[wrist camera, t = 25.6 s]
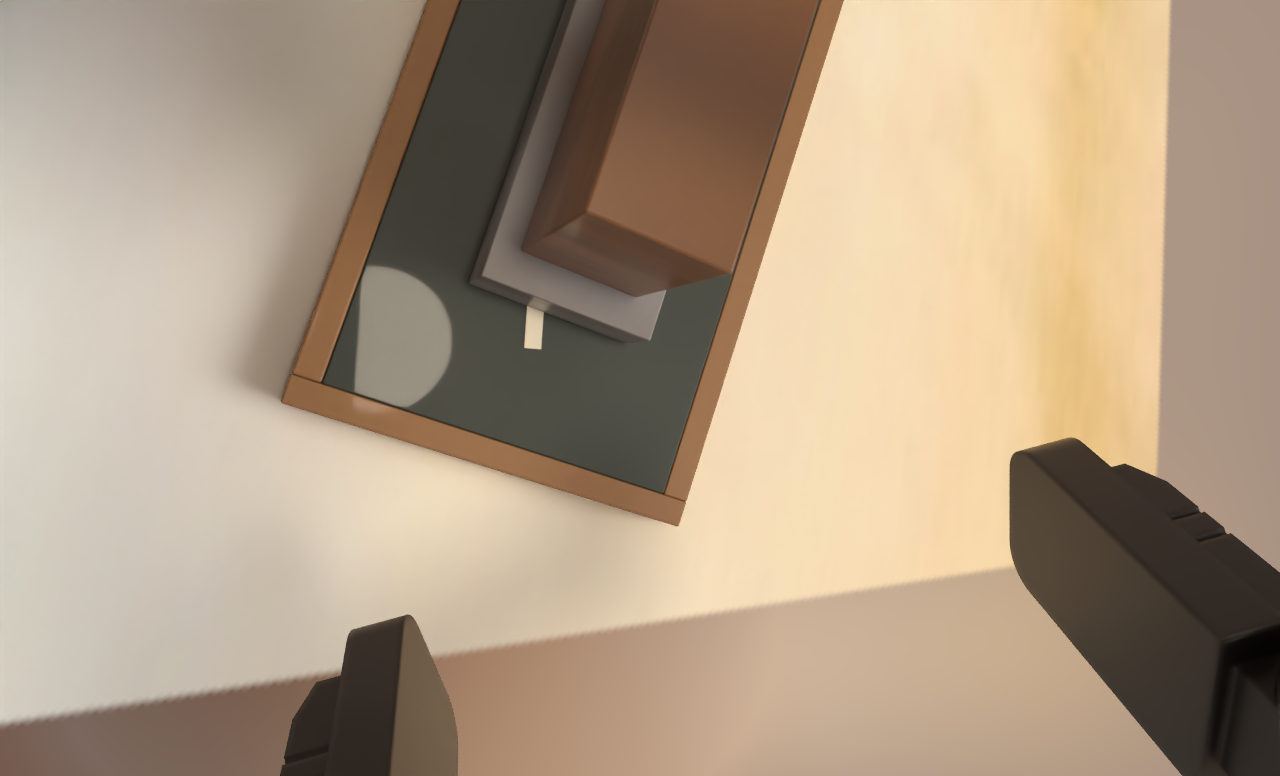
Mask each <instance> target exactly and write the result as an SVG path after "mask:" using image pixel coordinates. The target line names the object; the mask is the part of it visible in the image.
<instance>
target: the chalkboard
mask: <svg viewBox="0 0 1280 776" xmlns="http://www.w3.org/2000/svg"><path fill="white" fill-rule="evenodd" d="M566 1H567V0H428V2H427V5H426V7H425V10H424V13H423V15H422V18H421V21H420V24H419V26H418V29H417V32H416V35H415V37H414V40H413V43H412V45H411V48H410V51H409V54H408V56H407V59H406V62H405V65H404V67H403V70H402V73H401V75H400V78H399V81H398V84H397V86H396V89H395V92H394V95H393V97H392V100H391V103H390V105H389V108H388V111H387V114H386V116H385V119H384V122H383V124H382V127H381V130H380V133H379V135H378V138H377V141H376V144H375V146H374V149H373V152H372V154H371V157H370V160H369V163H368V165H367V168H366V171H365V174H364V176H363V179H362V182H361V184H360V187H359V190H358V193H357V195H356V198H355V201H354V204H353V206H352V209H351V212H350V214H349V217H348V220H347V223H346V225H345V228H344V231H343V234H342V236H341V239H340V242H339V244H338V247H337V250H336V253H335V255H334V258H333V261H332V263H331V266H330V269H329V272H328V274H327V277H326V280H325V283H324V285H323V288H322V291H321V293H320V296H319V299H318V302H317V304H316V307H315V310H314V313H313V315H312V318H311V321H310V323H309V326H308V329H307V332H306V334H305V337H304V340H303V343H302V345H301V348H300V351H299V353H298V356H297V359H296V362H295V364H294V367H293V370H292V373H293V374H291V375H290V378H289V381H288V383H287V386H286V389H285V392H284V394H283V397H282V400H281V402H282V403H284V404H287V405H290V406H294V407H297V408H300V409H303V410H306V411H310V412H313V413H316V414H319V415H322V416H326V417H329V418H332V419H335V420H338V421H342V422H345V423H348V424H351V425H354V426H358V427H361V428H364V429H367V430H370V431H374V432H377V433H380V434H383V435H386V436H390V437H393V438H396V439H399V440H402V441H406V442H409V443H412V444H415V445H418V446H422V447H425V448H428V449H431V450H434V451H438V452H441V453H444V454H447V455H450V456H454V457H457V458H460V459H463V460H466V461H470V462H473V463H476V464H479V465H482V466H486V467H489V468H492V469H495V470H498V471H502V472H505V473H508V474H511V475H514V476H518V477H521V478H524V479H527V480H530V481H534V482H537V483H540V484H543V485H546V486H550V487H553V488H556V489H559V490H562V491H566V492H569V493H572V494H575V495H578V496H582V497H585V498H588V499H591V500H594V501H598V502H601V503H604V504H607V505H610V506H614V507H617V508H620V509H623V510H626V511H630V512H633V513H636V514H639V515H642V516H646V517H649V518H652V519H655V520H658V521H662V522H665V523H668V524H671V525H674V526H679V523H680V520H681V516H682V513H683V510H684V507H685V504H686V502H685V501H686V500H687V497H688V494H689V491H690V488H691V484H692V481H693V478H694V475H695V472H696V468H697V465H698V462H699V459H700V456H701V453H702V449H703V446H704V443H705V440H706V437H707V434H708V430H709V427H710V424H711V421H712V418H713V414H714V411H715V408H716V405H717V402H718V399H719V395H720V392H721V389H722V386H723V383H724V379H725V376H726V373H727V370H728V367H729V364H730V360H731V357H732V354H733V351H734V348H735V344H736V341H737V338H738V335H739V332H740V329H741V325H742V322H743V319H744V316H745V313H746V310H747V306H748V303H749V300H750V297H751V294H752V290H753V287H754V284H755V281H756V278H757V275H758V271H759V268H760V265H761V262H762V259H763V255H764V252H765V249H766V246H767V243H768V240H769V236H770V233H771V230H772V227H773V224H774V221H775V217H776V214H777V211H778V208H779V205H780V201H781V198H782V195H783V192H784V189H785V186H786V182H787V179H788V176H789V173H790V170H791V166H792V163H793V160H794V157H795V154H796V151H797V147H798V144H799V141H800V138H801V135H802V131H803V128H804V125H805V122H806V119H807V116H808V112H809V109H810V106H811V103H812V100H813V97H814V93H815V90H816V87H817V84H818V81H819V77H820V74H821V71H822V68H823V65H824V62H825V58H826V55H827V52H828V49H829V46H830V42H831V39H832V36H833V33H834V30H835V27H836V23H837V20H838V17H839V14H840V11H841V7H842V4H843V1H844V0H819V1H818V4H817V7H816V10H815V13H814V16H813V20H812V23H811V26H810V29H809V32H808V35H807V38H806V42H805V45H804V48H803V51H802V54H801V57H800V61H799V64H798V67H797V70H796V73H795V76H794V80H793V83H792V86H791V89H790V92H789V95H788V98H787V102H786V105H785V108H784V111H783V114H782V117H781V121H780V124H779V127H778V130H777V133H776V136H775V139H774V143H773V146H772V149H771V152H770V155H769V158H768V162H767V165H766V168H765V171H764V174H763V177H762V180H761V184H760V187H759V190H758V193H757V196H756V199H755V203H754V206H753V209H752V212H751V215H750V218H749V222H748V225H747V228H746V231H745V234H744V237H743V240H742V244H741V247H740V250H739V253H738V256H737V259H736V263H735V266H734V269H733V272H732V273H731V274H728V275H724V276H720V277H716V278H712V279H708V280H704V281H700V282H696V283H692V284H688V285H684V286H680V287H676V288H671V289H667V290H666V293H665V296H664V299H663V302H662V305H661V309H660V312H659V315H658V318H657V321H656V324H655V327H654V330H653V333H652V336H651V339H650V341H643V342H634V343H624V342H621V341H618V340H616V339H613V338H611V337H608V336H605V335H603V334H600V333H597V332H595V331H592V330H589V329H587V328H584V327H582V326H579V325H576V324H574V323H571V322H568V321H566V320H563V319H561V318H558V317H555V316H553V315H550V314H547V313H545V312H542V311H539V310H537V309H534V308H532V307H529V306H526V305H524V304H521V303H518V302H516V301H513V300H510V299H508V298H505V297H503V296H500V295H497V294H495V293H492V292H489V291H487V290H484V289H481V288H479V287H476V286H474V285H471V284H469V280H470V277H471V274H472V271H473V268H474V265H475V263H476V260H477V257H478V254H479V251H480V248H481V245H482V242H483V240H484V237H485V234H486V231H487V228H488V225H489V222H490V220H491V217H492V214H493V211H494V208H495V205H496V202H497V199H498V197H499V194H500V191H501V188H502V185H503V182H504V179H505V176H506V174H507V171H508V168H509V165H510V162H511V159H512V156H513V154H514V151H515V148H516V145H517V142H518V139H519V136H520V133H521V131H522V128H523V125H524V122H525V119H526V116H527V113H528V110H529V108H530V105H531V102H532V99H533V96H534V93H535V90H536V88H537V85H538V82H539V79H540V76H541V73H542V70H543V67H544V65H545V62H546V59H547V56H548V53H549V50H550V47H551V45H552V42H553V39H554V36H555V33H556V30H557V27H558V24H559V22H560V19H561V16H562V13H563V10H564V7H565V4H566ZM320 382H322V384H321V383H320Z"/></svg>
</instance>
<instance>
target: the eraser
mask: <svg viewBox="0 0 1280 776" xmlns="http://www.w3.org/2000/svg"><path fill="white" fill-rule="evenodd" d="M818 1H819V0H567V1H566V4H565V7H564V10H563V13H562V16H561V19H560V22H559V24H558V27H557V30H556V33H555V36H554V39H553V42H552V45H551V47H550V50H549V53H548V56H547V59H546V62H545V65H544V67H543V70H542V73H541V76H540V79H539V82H538V85H537V88H536V90H535V93H534V96H533V99H532V102H531V105H530V108H529V110H528V113H527V116H526V119H525V122H524V125H523V128H522V131H521V133H520V136H519V139H518V142H517V145H516V148H515V151H514V154H513V156H512V159H511V162H510V165H509V168H508V171H507V174H506V176H505V179H504V182H503V185H502V188H501V191H500V194H499V197H498V199H497V202H496V205H495V208H494V211H493V214H492V217H491V220H490V222H489V225H488V228H487V231H486V234H485V237H484V240H483V242H482V245H481V248H480V251H479V254H478V257H477V260H476V263H475V265H474V268H473V271H472V274H471V277H470V280H469V284H471V285H474V286H476V287H479V288H481V289H484V290H487V291H489V292H492V293H495V294H497V295H500V296H503V297H505V298H508V299H510V300H513V301H516V302H518V303H521V304H524V305H526V306H529V307H532V308H534V309H537V310H539V311H542V312H545V313H547V314H550V315H553V316H555V317H558V318H561V319H563V320H566V321H568V322H571V323H574V324H576V325H579V326H582V327H584V328H587V329H589V330H592V331H595V332H597V333H600V334H603V335H605V336H608V337H611V338H613V339H616V340H618V341H621V342H624V343H634V342H643V341H650V339H651V336H652V333H653V330H654V327H655V324H656V321H657V318H658V315H659V312H660V309H661V305H662V302H663V299H664V296H665V293H666V290H667V289H671V288H676V287H680V286H684V285H688V284H692V283H696V282H700V281H704V280H708V279H712V278H716V277H720V276H724V275H728V274H731V273H732V272H733V269H734V266H735V263H736V259H737V256H738V253H739V250H740V247H741V244H742V240H743V237H744V234H745V231H746V228H747V225H748V222H749V218H750V215H751V212H752V209H753V206H754V203H755V199H756V196H757V193H758V190H759V187H760V184H761V180H762V177H763V174H764V171H765V168H766V165H767V162H768V158H769V155H770V152H771V149H772V146H773V143H774V139H775V136H776V133H777V130H778V127H779V124H780V121H781V117H782V114H783V111H784V108H785V105H786V102H787V98H788V95H789V92H790V89H791V86H792V83H793V80H794V76H795V73H796V70H797V67H798V64H799V61H800V57H801V54H802V51H803V48H804V45H805V42H806V38H807V35H808V32H809V29H810V26H811V23H812V20H813V16H814V13H815V10H816V7H817V4H818Z"/></svg>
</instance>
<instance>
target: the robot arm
mask: <svg viewBox="0 0 1280 776" xmlns="http://www.w3.org/2000/svg"><path fill="white" fill-rule="evenodd" d="M1010 549H1011V554H1012V558H1013V561H1014V564H1015V567H1016V570H1017V572H1018V574H1019V576H1020V578H1021V580H1022V582H1023V583H1024V585H1025V586H1026V588H1027V589H1028V590H1029V592H1030V593H1031V594H1032V595H1033V597H1034V598H1035V599H1036V600H1037V601H1038V603H1039V604H1040V605H1041V606H1042V607H1043V609H1044V610H1045V611H1046V612H1047V613H1048V615H1049V616H1050V617H1051V618H1052V619H1053V621H1054V622H1055V623H1056V624H1057V625H1058V627H1060V629H1061V630H1062V631H1063V633H1064V634H1065V635H1066V636H1067V637H1068V639H1069V640H1070V641H1071V642H1072V644H1073V645H1074V646H1075V647H1076V648H1077V649H1078V651H1079V652H1080V653H1081V654H1082V656H1083V657H1084V658H1085V659H1086V660H1087V661H1088V663H1089V664H1090V665H1091V666H1092V668H1093V669H1094V670H1095V671H1096V672H1097V674H1098V675H1099V676H1100V677H1101V678H1102V680H1103V681H1104V682H1105V683H1106V684H1107V686H1108V687H1109V688H1110V689H1111V690H1112V692H1113V693H1114V694H1115V695H1116V696H1117V698H1118V699H1119V700H1120V701H1121V702H1122V704H1123V705H1124V706H1125V707H1126V709H1127V710H1128V711H1129V712H1130V713H1131V715H1132V716H1133V717H1134V718H1135V719H1136V721H1137V722H1138V723H1139V724H1140V725H1141V727H1142V728H1143V729H1144V730H1145V731H1146V733H1147V734H1148V735H1149V736H1150V737H1151V738H1152V740H1153V741H1154V742H1155V743H1156V745H1157V746H1158V747H1159V748H1160V749H1161V751H1162V752H1163V753H1164V754H1165V755H1166V757H1167V758H1168V759H1169V760H1170V761H1171V763H1172V764H1173V765H1174V766H1175V767H1176V769H1177V770H1178V771H1179V772H1180V774H1181V775H1182V776H1280V572H1278V571H1277V570H1276V569H1275V568H1273V567H1272V566H1271V565H1270V564H1268V563H1267V562H1266V561H1265V560H1263V559H1262V558H1261V557H1260V556H1259V555H1257V554H1256V553H1255V552H1254V551H1252V550H1251V549H1250V548H1249V547H1247V546H1246V545H1245V544H1244V543H1242V542H1241V541H1240V540H1239V539H1237V538H1236V537H1235V536H1234V535H1232V534H1231V533H1230V534H1226V532H1225V530H1224V527H1223V526H1221V525H1220V524H1219V523H1218V522H1216V521H1215V520H1214V519H1213V518H1212V517H1210V516H1209V515H1208V514H1207V513H1205V512H1203V513H1201V512H1200V511H1199V509H1198V506H1197V505H1195V504H1194V503H1193V502H1192V501H1190V500H1189V499H1188V498H1187V497H1186V496H1184V495H1183V494H1182V493H1181V492H1179V491H1178V490H1177V489H1176V488H1174V487H1173V486H1172V485H1171V484H1169V483H1168V482H1167V481H1165V480H1162V479H1160V478H1158V477H1155V476H1153V475H1150V474H1148V473H1146V472H1143V471H1141V470H1139V469H1136V468H1134V467H1132V466H1129V465H1127V464H1121V465H1118V466H1114V467H1110V466H1109V465H1108V464H1107V463H1106V462H1105V461H1103V460H1102V459H1101V458H1100V457H1099V456H1098V455H1096V454H1095V453H1094V452H1093V451H1092V450H1091V449H1089V448H1088V447H1087V446H1086V445H1085V444H1084V443H1082V442H1081V441H1080V440H1078V439H1076V438H1066V439H1062V440H1058V441H1055V442H1051V443H1047V444H1044V445H1040V446H1036V447H1032V448H1029V449H1025V450H1021V451H1018V452H1016V453H1014V454H1013V456H1012V458H1011V461H1010ZM284 758H285V765H282V770H281V774H280V776H458V775H457V774H458V738H457V729H456V723H455V717H454V713H453V709H452V705H451V702H450V699H449V696H448V694H447V691H446V689H445V687H444V685H443V682H442V680H441V678H440V675H439V673H438V671H437V668H436V666H435V664H434V662H433V659H432V657H431V655H430V652H429V650H428V648H427V645H426V643H425V641H424V639H423V636H422V634H421V632H420V629H419V627H418V625H417V623H416V621H415V620H414V618H413V617H412V616H411V615H405V616H401V617H397V618H394V619H390V620H386V621H383V622H379V623H375V624H372V625H368V626H364V627H360V628H357V629H353V630H351V631H350V633H349V635H348V638H347V642H346V648H345V654H344V660H343V666H342V672H341V676H338V677H334V678H330V679H327V680H323V681H319V682H316V684H315V685H314V687H313V688H312V690H311V691H310V693H309V695H308V696H307V698H306V699H305V701H304V703H303V704H302V706H301V707H300V709H299V710H298V712H297V713H296V715H295V716H294V718H293V720H292V724H291V729H290V733H289V738H288V742H287V747H286V751H285V756H284Z"/></svg>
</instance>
